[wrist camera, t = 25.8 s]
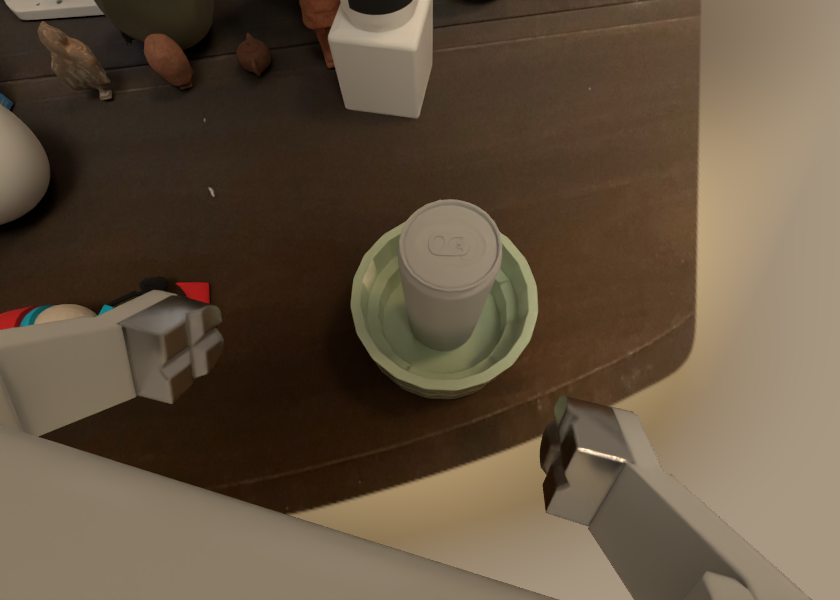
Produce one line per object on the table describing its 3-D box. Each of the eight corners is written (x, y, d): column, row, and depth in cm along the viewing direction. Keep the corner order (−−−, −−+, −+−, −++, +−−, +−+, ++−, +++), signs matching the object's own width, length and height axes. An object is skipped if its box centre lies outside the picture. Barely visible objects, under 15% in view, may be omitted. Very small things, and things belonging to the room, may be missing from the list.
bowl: (386, 419, 26) (374, 414, 21) (352, 275, 30) (334, 238, 25) (538, 375, 27) (567, 359, 22) (487, 240, 31) (501, 197, 25)
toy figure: (216, 282, 32) (0, 311, 29) (192, 258, 27) (-69, 290, 24) (223, 372, 30) (-8, 414, 27) (199, 363, 25) (-85, 413, 22)
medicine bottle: (432, 65, 38) (434, -93, 27) (418, 121, 36) (413, -27, 24) (363, 56, 38) (335, -102, 27) (344, 110, 36) (306, -38, 25)
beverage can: (474, 355, 27) (506, 297, 16) (406, 351, 27) (391, 291, 16) (475, 292, 29) (505, 198, 18) (411, 288, 29) (400, 194, 18)
